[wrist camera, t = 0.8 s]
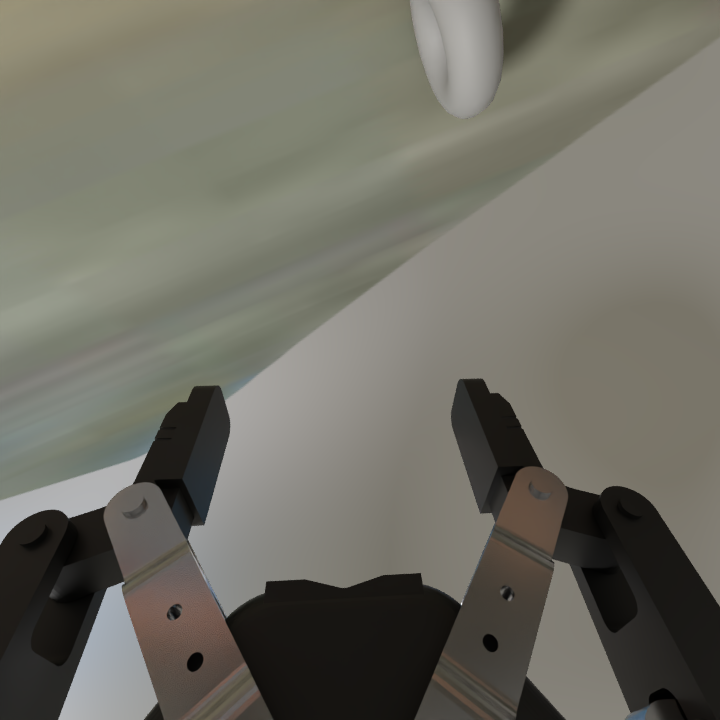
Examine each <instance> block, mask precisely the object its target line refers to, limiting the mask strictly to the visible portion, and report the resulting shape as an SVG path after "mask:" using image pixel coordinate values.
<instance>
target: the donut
mask: <svg viewBox="0 0 720 720" xmlns="http://www.w3.org/2000/svg"><path fill="white" fill-rule="evenodd" d="M410 7H411V16H412V21H413V27H414V32H415V37H416V41H417V45H418V49H419V53H420V56H421V60H422V63H423V66H424V69H425V72H426V75H427V77H428V80H429V82H430V85H431V87H432V90H433V92H434V94H435V95H436V97H437V99H438V101H439V102H440V104H441V105H442V106H443V107H444V109H445V110H446V111H447V112H448V113H450V114H452V115H454V116H456V117H458V118H462V119H468V118H471V117H474V116H476V115H477V114H479V113H480V112H481V111H483V110H484V109H486V108H487V107H488V106H489V104H490V103H491V102H492V101H493V99H494V96H495V94H496V91H497V89H498V86H499V83H500V81H501V74H502V66H503V56H504V48H503V26H502V19H501V11H500V4H499V0H410Z"/></svg>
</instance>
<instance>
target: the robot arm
mask: <svg viewBox="0 0 720 720" xmlns="http://www.w3.org/2000/svg"><path fill="white" fill-rule="evenodd" d="M451 421H452V427H453V431H454V434H455V437H456V440H457V443H458V446H459V449H460V452H461V456H462V459H463V462H464V465H465V468H466V471H467V474H468V477H469V480H470V483H471V486H472V490H473V492H474V496H475V499H476V502H477V505H478V508H479V511H480V513H492V514H493V517H494V520H495V524H494V526H493V529H492V531H491V534H490V536H489V539H488V540H487V543H486V545H485V548H484V550H483V552H482V555H481V557H480V560H479V562H478V564H477V567H476V569H475V572H474V574H473V576H472V579H471V581H470V584H469V586H468V588H467V591H466V593H465V595H464V598H463V600H462V602H461V605H460V604H459V603H458V602H457V601H456V600H454V599H453V598H451V597H450V596H449V595H447V594H445V593H444V592H442V591H440V590H438V589H435V588H433V587H430V586H427V585H423V584H422V578H421V573H416V574H398V575H383V576H380V577H377V578H374V579H371V580H369V581H366V582H363V583H360V584H357V585H354V586H351V587H348V588H339V587H335V586H330V585H326V584H321V583H318V582H313V581H309V580H288V581H268V582H266V589H265V593H264V594H261V595H259V596H257V597H255V598H253V599H251V600H249V601H247V602H246V603H244V604H243V605H241V606H240V607H238V608H237V609H236V610H235V611H234V612H232V613H231V614H230V615H229V616H228V617H227V616H226V614H225V612H224V610H223V608H222V606H221V604H220V603H219V600H218V599H217V597H216V595H215V593H214V591H213V589H212V587H211V585H210V583H209V581H208V579H207V577H206V575H205V573H204V571H203V569H202V567H201V565H200V563H199V561H198V559H197V557H196V555H195V553H194V551H193V549H192V547H191V545H190V543H189V541H188V536H189V532H190V529H191V526H197V525H198V526H199V525H204V524H205V520H206V517H207V513H208V510H209V506H210V502H211V499H212V495H213V492H214V488H215V485H216V481H217V477H218V473H219V470H220V467H221V463H222V460H223V456H224V452H225V449H226V445H227V442H228V438H229V434H230V418H229V414H228V411H227V407H226V404H225V401H224V397H223V394H222V390H221V388H220V386H195V387H194V388H193V390H192V392H191V394H190V396H189V399H188V401H187V402H178V403H177V404H176V405H175V406H174V407H173V408H172V409H171V410H170V411H169V412H168V413H167V414H166V416H165V418H164V420H163V422H162V424H161V426H160V430H159V431H158V433H157V435H156V437H155V441H153V443H152V445H151V447H150V450H149V452H148V454H147V456H146V458H145V460H144V462H143V464H142V467H141V469H140V471H139V473H138V475H137V477H136V479H135V482H134V483H133V485H131V486H128V487H126V488H125V489H123V490H121V491H120V492H119V493H117V494H116V495H115V496H114V497H113V498H112V499H111V500H110V502H109V503H108V505H107V506H105V507H103V508H100V509H97V510H94V511H91V512H88V513H84V514H81V515H78V516H75V517H72V518H68V517H67V516H66V515H65V514H64V513H63V512H61V511H59V510H46V511H41V512H38V513H36V514H33V515H31V516H29V517H27V518H26V519H24V520H23V521H21V522H20V523H19V524H17V525H16V526H15V527H14V528H13V529H12V530H11V531H10V532H9V533H8V534H7V535H6V537H5V538H4V540H3V541H2V543H1V545H0V720H58V718H59V716H60V713H61V710H62V708H63V705H64V701H65V699H66V697H67V694H68V691H69V689H70V686H71V683H72V681H73V678H74V675H75V673H76V670H77V667H78V665H79V662H80V659H81V657H82V654H83V651H84V649H85V646H86V643H87V640H88V638H89V635H90V632H91V630H92V627H93V624H94V622H95V619H96V616H97V614H98V611H99V608H100V606H101V602H102V600H103V597H104V595H105V592H106V589H107V588H108V587H111V586H114V585H116V584H119V583H121V582H125V584H124V585H122V592H123V596H124V599H125V602H126V605H127V609H128V611H129V614H130V618H131V621H132V624H133V627H134V630H135V633H136V636H137V639H138V642H139V645H140V648H141V651H142V654H143V657H144V660H145V663H146V666H147V669H148V672H149V675H150V678H151V681H152V684H153V687H154V690H155V693H156V696H157V699H158V703H157V704H156V705H155V707H154V708H153V709H152V710H151V712H150V713H149V714H148V715H147V716H146V718H145V719H144V720H566V719H565V718H564V717H563V716H562V715H561V714H560V713H559V712H558V711H557V710H556V708H555V707H554V706H553V705H552V704H551V703H550V702H549V701H548V700H547V699H546V698H545V696H544V695H543V694H542V693H541V692H540V691H539V690H538V689H537V688H536V686H534V684H533V683H532V682H531V681H530V680H529V679H528V678H527V676H526V674H527V670H528V666H529V662H530V659H531V655H532V651H533V647H534V643H535V640H536V636H537V632H538V628H539V624H540V621H541V617H542V613H543V609H544V606H545V602H546V598H547V594H548V590H549V586H550V583H551V579H552V575H553V571H554V562H553V561H552V559H555V560H558V561H561V562H565V563H568V564H570V566H571V568H572V571H573V573H574V576H575V578H576V581H577V583H578V586H579V588H580V590H581V593H582V595H583V598H584V600H585V603H586V605H587V608H588V610H589V612H590V615H591V617H592V620H593V622H594V625H595V627H596V629H597V632H598V634H599V637H600V639H601V642H602V644H603V647H604V649H605V651H606V654H607V656H608V659H609V661H610V664H611V666H612V668H613V671H614V673H615V676H616V678H617V681H618V683H619V686H620V688H621V690H622V693H623V695H624V698H625V700H626V702H627V705H628V708H629V710H630V712H631V713H630V714H629V715H628V716H627V717H626V718H625V720H720V606H719V605H718V603H717V602H716V600H715V599H714V597H713V596H712V594H711V593H710V591H709V589H708V588H707V586H706V585H705V584H704V582H703V580H702V579H701V577H700V576H699V574H698V573H697V571H696V570H695V568H694V567H693V565H692V564H691V562H690V560H689V559H688V557H687V556H686V554H685V553H684V551H683V550H682V548H681V547H680V545H679V544H678V542H677V540H676V539H675V537H674V536H673V534H672V533H671V531H670V530H669V528H668V527H667V525H666V524H665V522H664V521H663V519H662V518H661V516H660V514H659V513H658V511H657V510H656V508H655V507H654V506H653V505H652V504H651V503H650V501H648V500H647V499H646V498H645V497H643V496H642V495H641V494H639V493H637V492H635V491H633V490H631V489H628V488H625V487H620V486H612V487H608V488H606V489H605V490H604V491H603V492H602V493H601V495H597V494H593V493H589V492H585V491H580V490H576V489H573V488H569V487H567V486H565V485H564V484H563V482H562V481H561V480H560V479H559V478H558V477H557V476H556V475H554V474H553V473H552V472H550V471H548V470H546V469H544V468H543V467H542V465H541V463H540V461H539V460H538V457H537V455H536V453H535V452H534V450H533V448H532V446H531V444H530V442H529V440H528V438H527V436H526V434H525V432H524V430H523V429H522V428H521V424H520V423H519V420H518V419H517V418H516V415H515V413H514V411H513V409H512V407H511V405H510V403H509V402H507V401H506V400H505V399H504V398H503V397H502V396H501V395H500V394H499V393H490V392H489V390H488V388H487V386H486V384H485V382H484V380H483V379H460V380H459V381H458V384H457V388H456V393H455V397H454V402H453V406H452V411H451Z"/></svg>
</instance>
